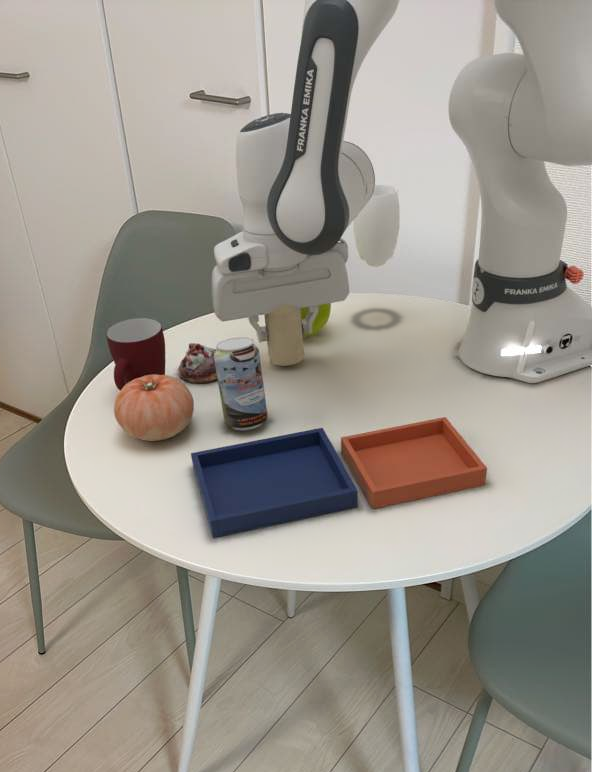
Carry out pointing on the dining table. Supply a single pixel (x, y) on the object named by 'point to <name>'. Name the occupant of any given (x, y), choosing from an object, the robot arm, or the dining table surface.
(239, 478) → the navy tray
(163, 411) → the orange pumpkin
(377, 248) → the cup
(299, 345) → the candle
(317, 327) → the fruit
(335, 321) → the dining table surface
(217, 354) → the beverage can
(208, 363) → the pastry
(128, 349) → the mug
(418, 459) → the terracotta tray
